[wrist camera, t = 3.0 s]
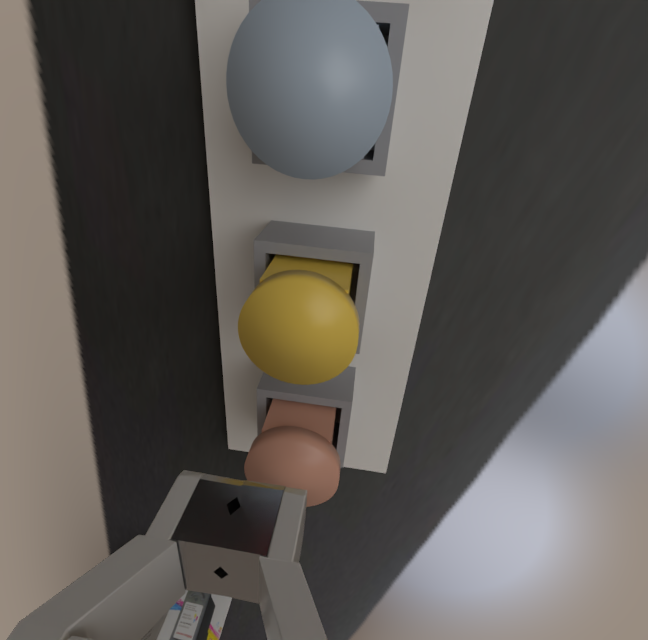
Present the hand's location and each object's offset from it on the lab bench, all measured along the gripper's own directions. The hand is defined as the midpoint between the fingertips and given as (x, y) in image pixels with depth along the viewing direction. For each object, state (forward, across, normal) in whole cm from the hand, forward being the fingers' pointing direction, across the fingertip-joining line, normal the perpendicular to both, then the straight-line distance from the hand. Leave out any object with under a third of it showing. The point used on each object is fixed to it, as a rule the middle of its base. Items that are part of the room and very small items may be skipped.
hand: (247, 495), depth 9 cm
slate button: (+11, 0, -9) cm, 14 cm away
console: (+14, 0, -1) cm, 14 cm away
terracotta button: (+11, 0, +7) cm, 13 cm away
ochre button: (+11, 0, -1) cm, 11 cm away
